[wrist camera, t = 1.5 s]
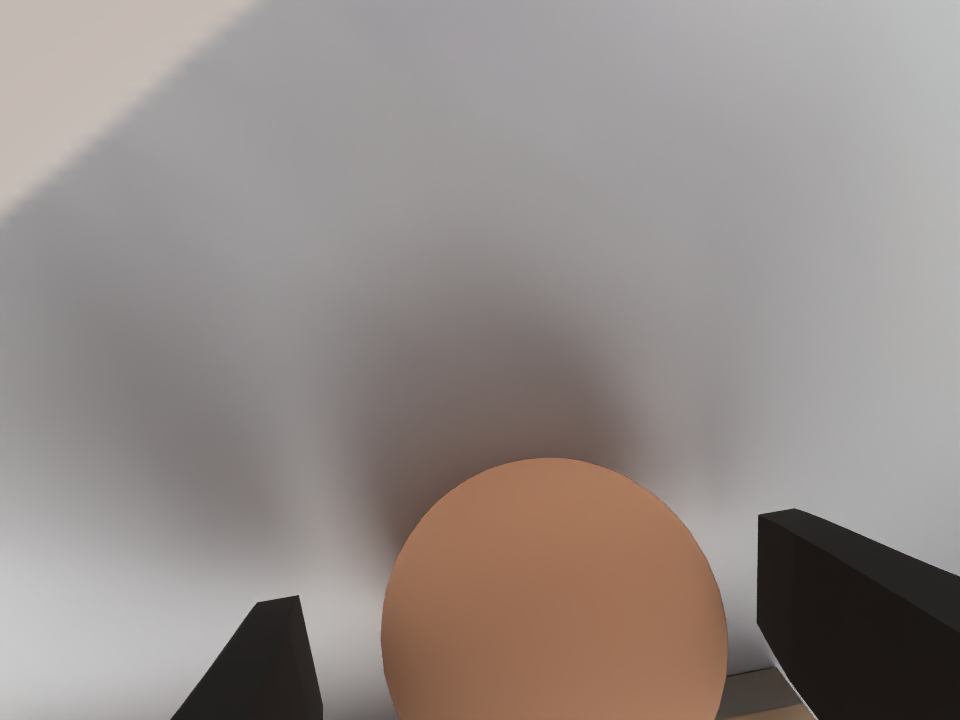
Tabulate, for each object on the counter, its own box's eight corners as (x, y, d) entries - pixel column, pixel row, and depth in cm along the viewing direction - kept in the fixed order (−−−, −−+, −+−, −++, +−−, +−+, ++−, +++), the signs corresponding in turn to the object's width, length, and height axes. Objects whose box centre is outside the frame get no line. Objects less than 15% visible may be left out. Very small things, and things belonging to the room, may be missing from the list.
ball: (647, 389, 13) (809, 543, 8) (656, 628, 14) (796, 875, 10) (358, 433, 12) (348, 625, 7) (401, 675, 14) (414, 961, 9)
